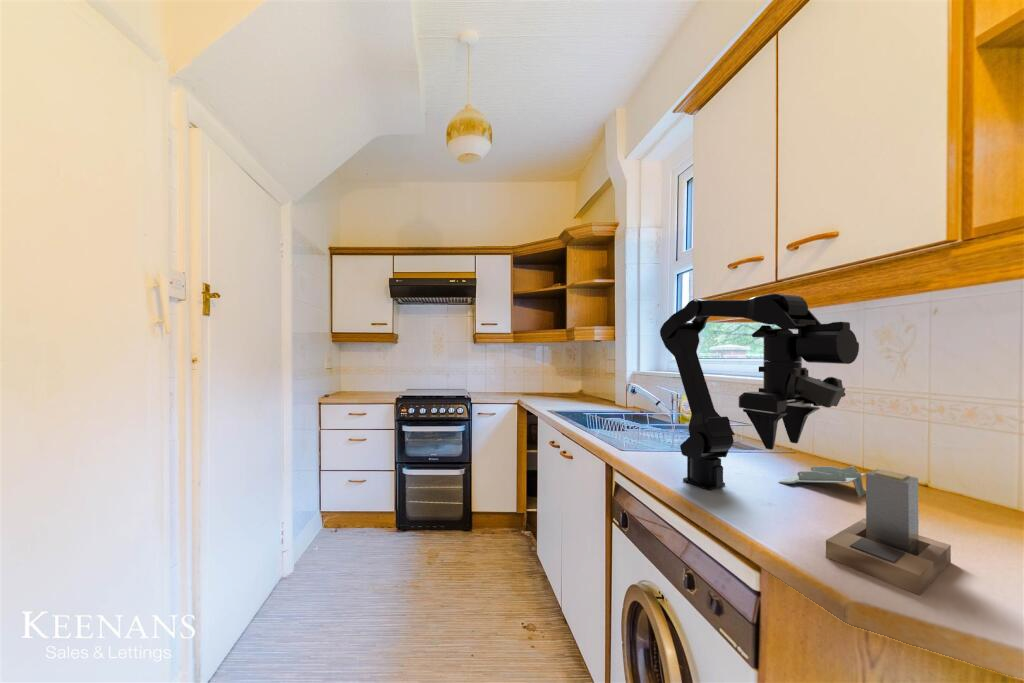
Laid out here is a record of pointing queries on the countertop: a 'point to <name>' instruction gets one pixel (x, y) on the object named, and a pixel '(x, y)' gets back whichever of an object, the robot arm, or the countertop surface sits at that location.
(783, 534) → the countertop surface
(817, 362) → the robot arm
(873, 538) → the grey tall block
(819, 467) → the metal bracket
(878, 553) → the plate with square hole
